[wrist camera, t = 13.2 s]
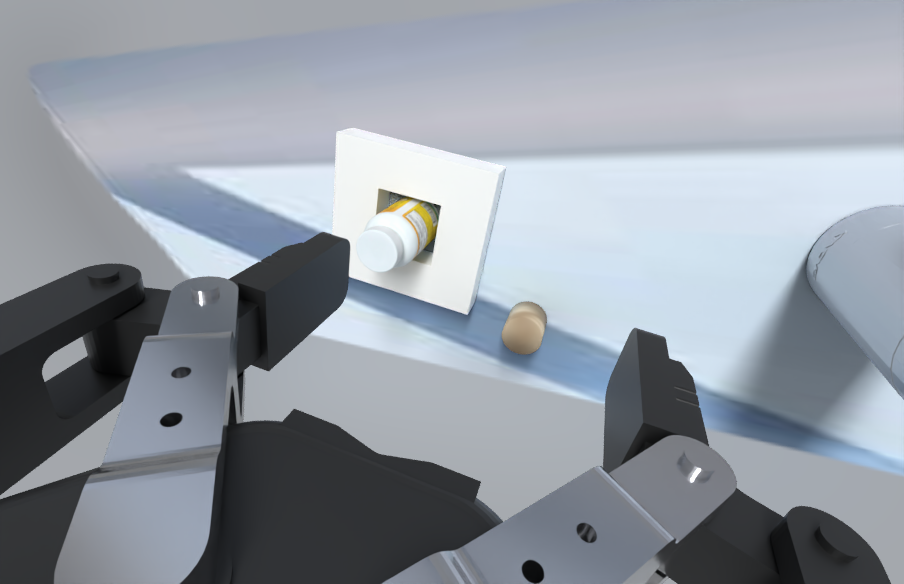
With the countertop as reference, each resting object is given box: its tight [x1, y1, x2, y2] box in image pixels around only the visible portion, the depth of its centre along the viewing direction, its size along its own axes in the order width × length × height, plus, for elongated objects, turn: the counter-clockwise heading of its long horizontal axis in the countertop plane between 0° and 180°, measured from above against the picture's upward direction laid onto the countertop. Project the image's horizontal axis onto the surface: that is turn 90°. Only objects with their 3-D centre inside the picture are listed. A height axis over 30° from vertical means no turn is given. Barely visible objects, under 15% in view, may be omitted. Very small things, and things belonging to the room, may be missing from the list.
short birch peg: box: [502, 302, 547, 354], centre depth 47 cm, size 4×4×4 cm
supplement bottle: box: [356, 196, 439, 272], centre depth 44 cm, size 5×5×10 cm
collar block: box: [332, 128, 506, 315], centre depth 47 cm, size 16×15×3 cm
